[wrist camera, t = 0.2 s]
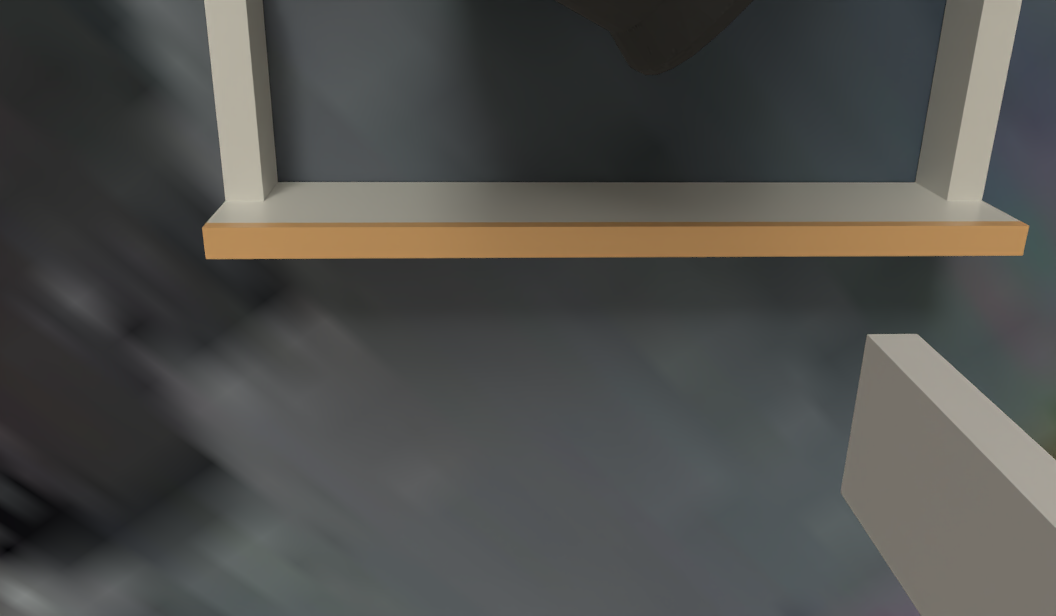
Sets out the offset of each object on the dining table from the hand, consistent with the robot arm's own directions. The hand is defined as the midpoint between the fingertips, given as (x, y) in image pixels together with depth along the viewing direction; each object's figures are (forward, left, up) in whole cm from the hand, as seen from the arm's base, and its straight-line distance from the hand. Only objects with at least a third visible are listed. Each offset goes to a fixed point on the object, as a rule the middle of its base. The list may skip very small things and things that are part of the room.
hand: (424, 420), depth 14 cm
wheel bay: (0, +7, -28) cm, 28 cm away
